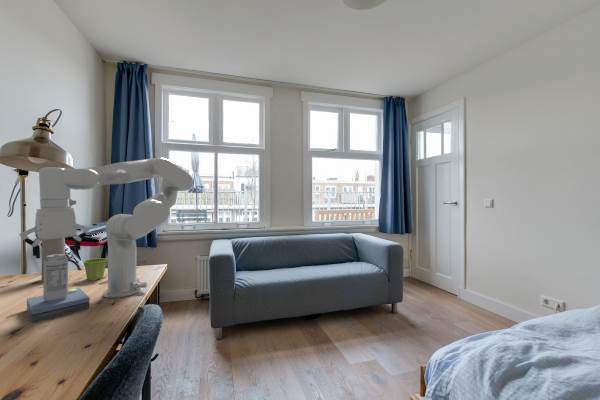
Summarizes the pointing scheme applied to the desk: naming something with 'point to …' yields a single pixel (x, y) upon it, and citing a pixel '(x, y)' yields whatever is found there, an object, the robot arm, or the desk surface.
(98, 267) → the plant pot
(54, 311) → the tribrach base
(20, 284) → the desk surface
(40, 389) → the desk surface
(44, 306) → the plate
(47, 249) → the thermos bottle
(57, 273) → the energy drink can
